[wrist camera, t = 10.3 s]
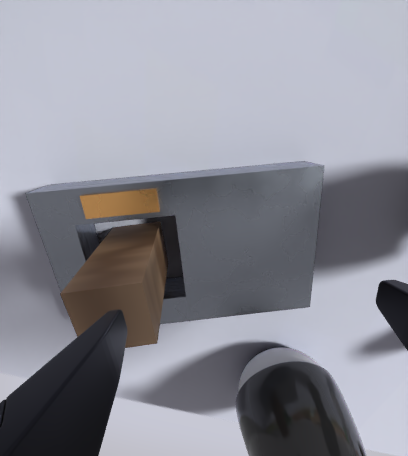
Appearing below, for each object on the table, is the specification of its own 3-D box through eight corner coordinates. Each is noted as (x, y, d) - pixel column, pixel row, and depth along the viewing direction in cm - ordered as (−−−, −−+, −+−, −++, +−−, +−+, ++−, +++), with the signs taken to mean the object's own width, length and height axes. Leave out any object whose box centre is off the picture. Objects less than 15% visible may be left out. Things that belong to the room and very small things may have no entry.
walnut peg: (160, 221, 20) (142, 282, 12) (168, 262, 22) (157, 343, 13) (112, 227, 20) (60, 293, 12) (124, 268, 21) (84, 353, 13)
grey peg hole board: (303, 161, 19) (326, 165, 16) (295, 286, 23) (311, 309, 20) (49, 184, 18) (22, 194, 15) (89, 309, 23) (74, 336, 20)
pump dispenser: (255, 319, 25) (348, 568, 10) (334, 346, 27) (499, 582, 13) (212, 384, 28) (239, 643, 14) (286, 403, 30) (376, 644, 16)
